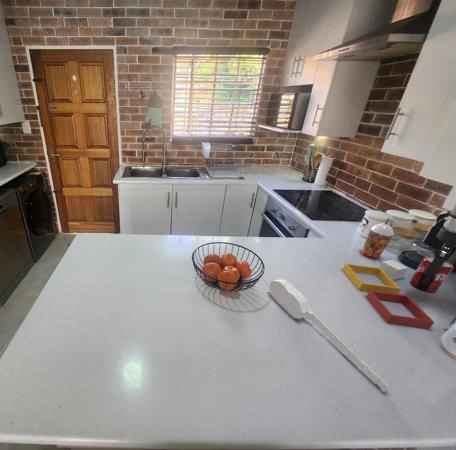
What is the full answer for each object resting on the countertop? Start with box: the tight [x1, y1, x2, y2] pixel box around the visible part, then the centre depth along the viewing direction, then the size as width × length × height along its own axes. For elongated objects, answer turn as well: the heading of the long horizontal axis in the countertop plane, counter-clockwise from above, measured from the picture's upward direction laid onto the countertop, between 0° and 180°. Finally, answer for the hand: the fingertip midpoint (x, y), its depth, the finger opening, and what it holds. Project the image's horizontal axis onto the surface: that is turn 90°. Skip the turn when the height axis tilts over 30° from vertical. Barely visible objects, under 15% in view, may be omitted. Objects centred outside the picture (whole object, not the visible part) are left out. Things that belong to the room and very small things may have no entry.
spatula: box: [268, 279, 389, 393], centre depth 75 cm, size 38×8×4 cm
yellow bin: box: [342, 263, 402, 294], centre depth 100 cm, size 13×13×4 cm
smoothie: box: [361, 218, 395, 260], centre depth 115 cm, size 8×8×20 cm
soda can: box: [408, 255, 454, 295], centre depth 89 cm, size 7×7×12 cm
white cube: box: [378, 259, 409, 281], centre depth 104 cm, size 6×6×6 cm
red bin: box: [365, 291, 435, 330], centre depth 85 cm, size 12×12×4 cm
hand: (423, 285), depth 91 cm, fingers closed on soda can, 7 cm apart
